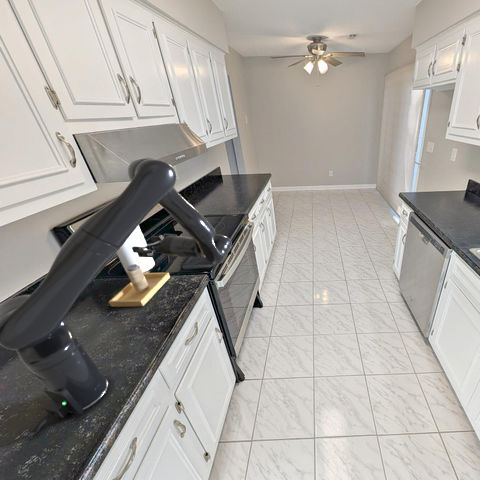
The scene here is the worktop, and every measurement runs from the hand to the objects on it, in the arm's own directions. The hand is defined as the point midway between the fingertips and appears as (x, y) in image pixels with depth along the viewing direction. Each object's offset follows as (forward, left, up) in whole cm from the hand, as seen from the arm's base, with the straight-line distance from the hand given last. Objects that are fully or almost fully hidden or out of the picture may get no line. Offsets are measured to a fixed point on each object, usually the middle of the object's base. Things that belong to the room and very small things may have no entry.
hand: (142, 243), depth 97 cm
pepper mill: (0, +11, -24) cm, 26 cm away
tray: (0, +11, -24) cm, 27 cm away
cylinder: (+16, +28, -24) cm, 41 cm away
